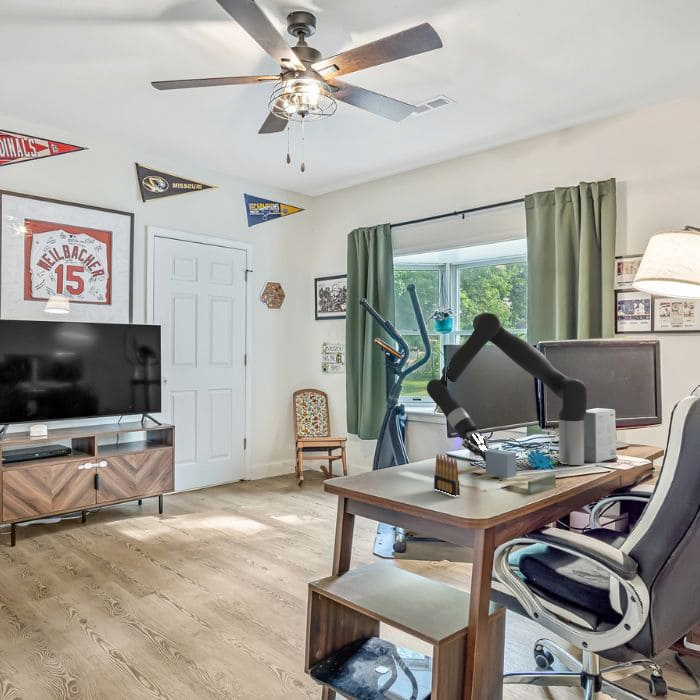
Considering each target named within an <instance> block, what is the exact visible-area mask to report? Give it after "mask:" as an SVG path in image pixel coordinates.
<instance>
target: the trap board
mask: <svg viewBox="0 0 700 700" xmlns="http://www.w3.org/2000/svg"><path fill="white" fill-rule="evenodd" d="M479 467H480V466H475V465H472V466H468V467H463V468H459V469H458V475H461V476H465V475H467V474H473V473H476V474H481V475H478V476H474V478H475V479H479V480H487V479H491V478H499V479H503V480H500V481H496V483H498V484H502V485H505V486H501V487H500V489H503V490H504V489H505V490H509V491H513V492H518V493H522V494H527V495H531V496H532V495H535V494H538V493H542V492H545V491H548V490H551V489H554V488H557V486H556V475H555V474H553V473H552V474H549V475H546V476H541V477H539V478H538V477H537V478H534V477H530V476H525V475H519V474H516V476H514V477H510V478H504V477H500V476H495V475H490V474H486V470H485V469H481V468H482V467H481V468H479Z"/></svg>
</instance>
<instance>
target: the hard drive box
mask: <svg viewBox="0 0 700 700" xmlns="http://www.w3.org/2000/svg"><path fill="white" fill-rule="evenodd" d="M616 428H617V427H616V410H615V409H612V408H603V407H602V408H601V407H597V408H591V409H586V413H585V416H584V462H589V463H593V464H594V463H595V464H598V463H600V462H601V463H602V462H603V461H604V462H605V461H608V460H612V459H613V460H614V459H617V434H616V433H617V432H616V431H617V429H616Z"/></svg>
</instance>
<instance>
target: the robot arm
mask: <svg viewBox="0 0 700 700" xmlns="http://www.w3.org/2000/svg"><path fill="white" fill-rule="evenodd" d="M501 324H502V323H501V319H500V318H499V316H498V315H496V314H495V313H491V312H483V313H479V314H477V315H476V316H475V317H474V319H473V321H472V326H473V331H472V332H471V334H470V337H468V339H467V340H466V341H465V342H464V344H462V346H460V347H459V348H458V349H457V350H456V351H455V352H454V353H453V355H452V356H453V357H452V356H451V357H452V358H451V357H450V358H451V361H450V363H449V366H448V367H449V369H448V367H447V372H446V381H445V365H444V367H442V369H441V374H442V376H441V377H440V379H437V378H435V379H431V380H429V382H428V383H427V385H426V392H427V394H428V395H429V397H430V398H431V399H432V401H434V403H435V404H436V405H437V406H438V408H440V410H441V412H442V413H443V415H444V416H445V418H446V420H447V421H448V423H449V425H450V426H451V427H452V429H453V430H454V432H455V433H456V434H457V436H458V437H459V438H460V439H462V440H463V442H462V443H461V446H462V447H464V448H465V449H467V450H468V451H470V452H471V453H473V454H478V455H479V456H480V457H481V458H482V460H483V461H484V462H485V463H486V451H488V450H489V438H488V436H487V435H485V436H482V435H481V433H480V432H478V426H477V425H476V423H475V422H474V420H473V419H472V418H471V417H470V415H469V413H467V411H466V410H465V409H464V408H463V407H462V405H461V404H460V402H459V401H458V400H457V399H456V398H455V397H453V395H452V393H449V391H448V389H447V377H448V379H450V381H452V382H456V383H457V381H458V380H459V378H460V377H461V375H462V374H463V373H464V371H465V370H466V368H468V366H469V364H471V362H472V361H473V360H474V358H475V357H476V355H477V354H478V353H479V352H480V351H481V350H482V349H483V347H484V346H485V345H486V344H487V343H489V342H490V343H492V344H493V345H495V346H496V347H498V348H499V350H501V351H502V352H503V354H505V355H506V356H507V357H508V358H509V359H510V360H512V361H513V362H514V363H515V364H517V365H518V366H519V367H520V368H522V369H523V370H524V371H525V372H527V373H528V374H530V375H531V376H533V377H534V378H536V379H537V380H539V381H540V382H541V383H543V384H544V385H545V386H546V387H547V388H549V389H550V390H551V391H552V392H553V393H554V394H555V395H556V396H557V397H558V398H559V399H560V400H562V409H561V410H560V411H559V412H558V450H559V451H558V462H559V461H561V462H563V463H567V464H570V465H581V466H585V461H584V416H585V413H586V410H587V406H588V405H587V402H588V400H587V399H588V390H587V387H586V384H585V383H584V382H583V381H582V380H579V379H577V378H571V377H569V376H566V375H564V374H563V373H562V372H560V371H559V370H558V369H556V368H555V367H554V366H553V365H552V364H551V362H550V361H549V359H547V357H546V356H545V355H544V354H543V353H542V352H541V351H540V350H538V349H537V347H535V346H533V345H532V344H530V342H528V341H526V340H524V339H522V338H520V337H519V336H517V335H514V334H513V333H511V332H510V331H508V330H507V329H506V328H505V327H504V326H502V325H501ZM446 406H447V409H446Z"/></svg>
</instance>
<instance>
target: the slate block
mask: <svg viewBox="0 0 700 700" xmlns="http://www.w3.org/2000/svg"><path fill="white" fill-rule="evenodd" d="M485 468H486V474H490V475H495V476H500V477H504V478H510V477H514V476H516V475H517V452H514V451H513V452H512V451H507V450H502V449H496V448H493V449H487V451H486V462H485Z"/></svg>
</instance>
